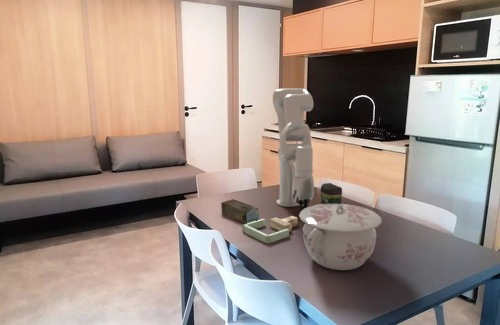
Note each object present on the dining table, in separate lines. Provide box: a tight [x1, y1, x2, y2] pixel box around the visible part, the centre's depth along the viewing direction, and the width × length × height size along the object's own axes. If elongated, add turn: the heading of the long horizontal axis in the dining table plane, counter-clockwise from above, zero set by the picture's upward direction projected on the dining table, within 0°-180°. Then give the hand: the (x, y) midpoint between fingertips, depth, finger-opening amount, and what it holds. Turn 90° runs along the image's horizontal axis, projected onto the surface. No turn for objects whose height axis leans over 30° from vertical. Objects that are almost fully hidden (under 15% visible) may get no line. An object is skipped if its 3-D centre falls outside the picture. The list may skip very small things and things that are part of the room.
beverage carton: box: [220, 198, 260, 224], centre depth 172 cm, size 8×19×7 cm, turn 42°
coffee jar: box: [320, 182, 343, 204], centre depth 159 cm, size 10×8×19 cm
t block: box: [269, 215, 299, 233], centre depth 159 cm, size 10×10×4 cm
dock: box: [241, 218, 290, 244], centre depth 152 cm, size 12×16×3 cm
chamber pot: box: [298, 203, 383, 271], centre depth 125 cm, size 28×28×21 cm
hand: (303, 213), depth 163 cm, fingers closed
